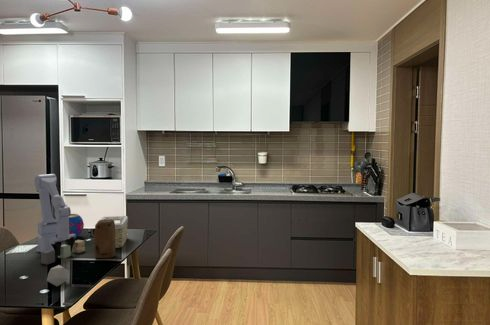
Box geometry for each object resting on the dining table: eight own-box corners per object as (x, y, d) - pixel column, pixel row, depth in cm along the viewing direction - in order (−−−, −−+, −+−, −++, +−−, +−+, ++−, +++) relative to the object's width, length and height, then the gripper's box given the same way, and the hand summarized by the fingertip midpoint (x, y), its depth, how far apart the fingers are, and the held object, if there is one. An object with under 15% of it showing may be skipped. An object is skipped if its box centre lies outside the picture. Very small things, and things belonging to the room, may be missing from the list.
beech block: (72, 252, 206) (72, 241, 205) (78, 250, 210) (78, 239, 210) (78, 253, 204) (78, 242, 204) (84, 250, 208) (84, 240, 208)
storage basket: (123, 248, 213) (122, 223, 212) (94, 250, 210) (93, 224, 209) (129, 237, 237) (128, 215, 236) (102, 239, 234) (102, 216, 233)
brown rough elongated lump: (116, 254, 202) (115, 218, 201) (114, 258, 195) (113, 221, 194) (95, 255, 200) (94, 219, 199) (93, 259, 193) (92, 222, 191)
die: (58, 280, 166) (43, 267, 161) (74, 271, 166) (61, 257, 161) (55, 293, 159) (39, 280, 154) (72, 283, 159) (57, 270, 154)
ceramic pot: (48, 239, 232) (47, 216, 231) (73, 233, 247) (73, 211, 246) (64, 243, 223) (63, 219, 222) (89, 237, 238) (89, 214, 237)
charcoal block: (41, 263, 187) (40, 252, 187) (48, 260, 192) (48, 249, 191) (47, 264, 186) (47, 253, 185) (55, 261, 190) (54, 250, 189)
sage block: (57, 257, 197) (57, 246, 196) (64, 255, 201) (64, 244, 200) (63, 258, 195) (63, 247, 195) (70, 256, 199) (70, 245, 199)
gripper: (57, 232, 189) (58, 258, 190) (79, 226, 202) (80, 250, 203) (47, 231, 191) (48, 256, 192) (69, 225, 205) (70, 249, 206)
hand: (64, 253), depth 198 cm, fingers open, 7 cm apart
